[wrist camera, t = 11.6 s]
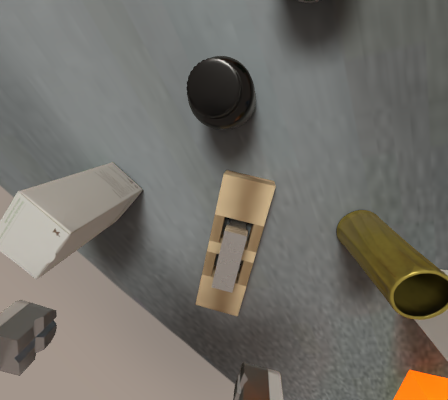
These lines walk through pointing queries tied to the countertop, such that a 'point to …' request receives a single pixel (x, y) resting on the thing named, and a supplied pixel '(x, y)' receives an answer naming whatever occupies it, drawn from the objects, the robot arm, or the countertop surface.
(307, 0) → the canned tomato
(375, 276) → the vase
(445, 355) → the milk
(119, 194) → the skincare box
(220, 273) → the grey concrete brick
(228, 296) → the flat wooden block
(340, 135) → the countertop surface
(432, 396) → the orange juice
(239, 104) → the supplement bottle
